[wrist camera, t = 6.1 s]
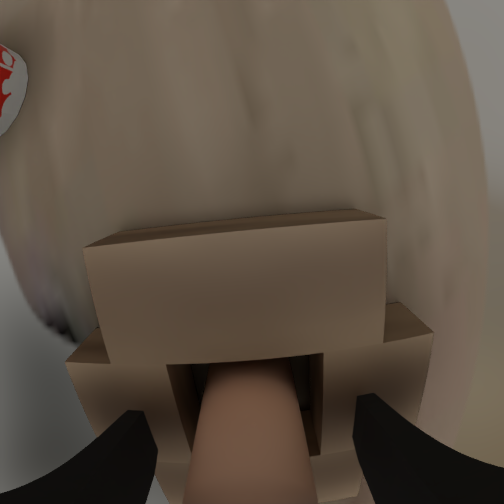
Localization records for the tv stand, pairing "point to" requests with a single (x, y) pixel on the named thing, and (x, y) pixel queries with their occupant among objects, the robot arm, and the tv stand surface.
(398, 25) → the tv stand surface
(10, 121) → the beverage cup
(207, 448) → the peg
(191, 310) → the socket block
